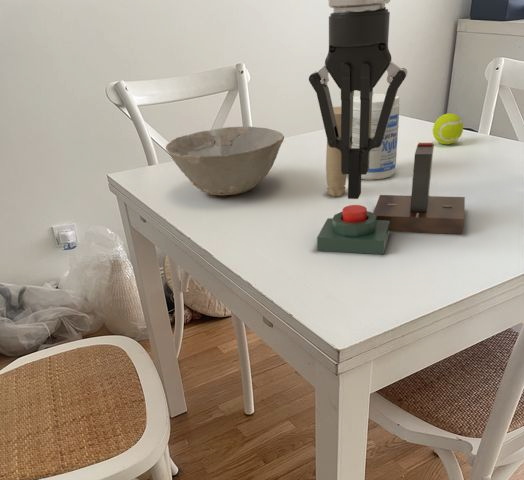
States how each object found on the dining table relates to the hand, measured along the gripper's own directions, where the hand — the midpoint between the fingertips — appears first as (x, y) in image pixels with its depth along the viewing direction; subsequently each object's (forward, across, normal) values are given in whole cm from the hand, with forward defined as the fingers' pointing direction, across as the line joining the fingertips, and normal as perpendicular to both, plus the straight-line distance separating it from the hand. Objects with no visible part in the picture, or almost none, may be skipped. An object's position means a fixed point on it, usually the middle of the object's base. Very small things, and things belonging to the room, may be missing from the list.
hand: (354, 195), depth 80 cm
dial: (+5, -9, -10) cm, 14 cm away
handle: (+8, +7, -22) cm, 24 cm away
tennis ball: (+7, -12, -59) cm, 61 cm away
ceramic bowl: (+8, +29, -23) cm, 38 cm away
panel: (+7, -9, -10) cm, 15 cm away
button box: (+7, 0, 0) cm, 7 cm away
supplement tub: (+8, +2, -35) cm, 36 cm away
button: (+4, 0, 0) cm, 4 cm away
